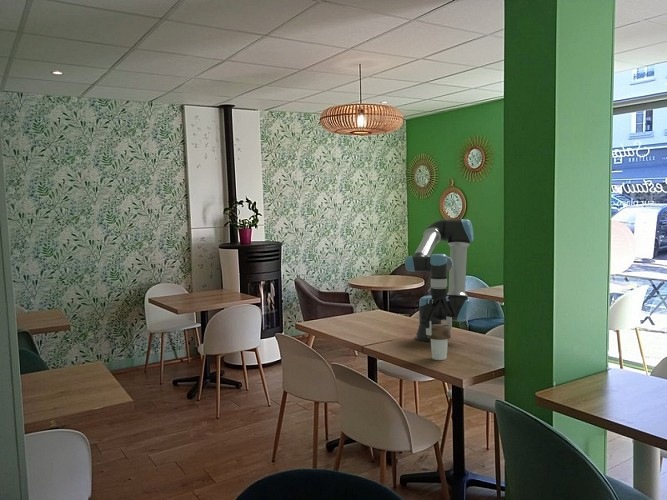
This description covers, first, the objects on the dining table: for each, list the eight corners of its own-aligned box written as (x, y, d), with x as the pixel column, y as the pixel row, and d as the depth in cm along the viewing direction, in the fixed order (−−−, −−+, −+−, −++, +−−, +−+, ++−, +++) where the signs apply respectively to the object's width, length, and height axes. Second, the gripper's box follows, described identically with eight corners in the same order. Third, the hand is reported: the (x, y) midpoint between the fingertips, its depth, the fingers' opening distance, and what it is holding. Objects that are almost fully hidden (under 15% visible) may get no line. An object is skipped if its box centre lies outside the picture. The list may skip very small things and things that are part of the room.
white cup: (450, 357, 260) (450, 336, 259) (444, 361, 253) (444, 339, 252) (434, 355, 264) (434, 334, 263) (428, 359, 257) (428, 338, 256)
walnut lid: (438, 333, 265) (438, 323, 265) (455, 337, 256) (455, 326, 256) (422, 336, 259) (422, 326, 258) (439, 340, 250) (439, 330, 250)
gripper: (451, 284, 266) (451, 327, 268) (413, 289, 252) (414, 335, 253) (463, 285, 260) (463, 330, 262) (425, 291, 245) (425, 338, 247)
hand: (439, 332), depth 257 cm, fingers open, 13 cm apart
